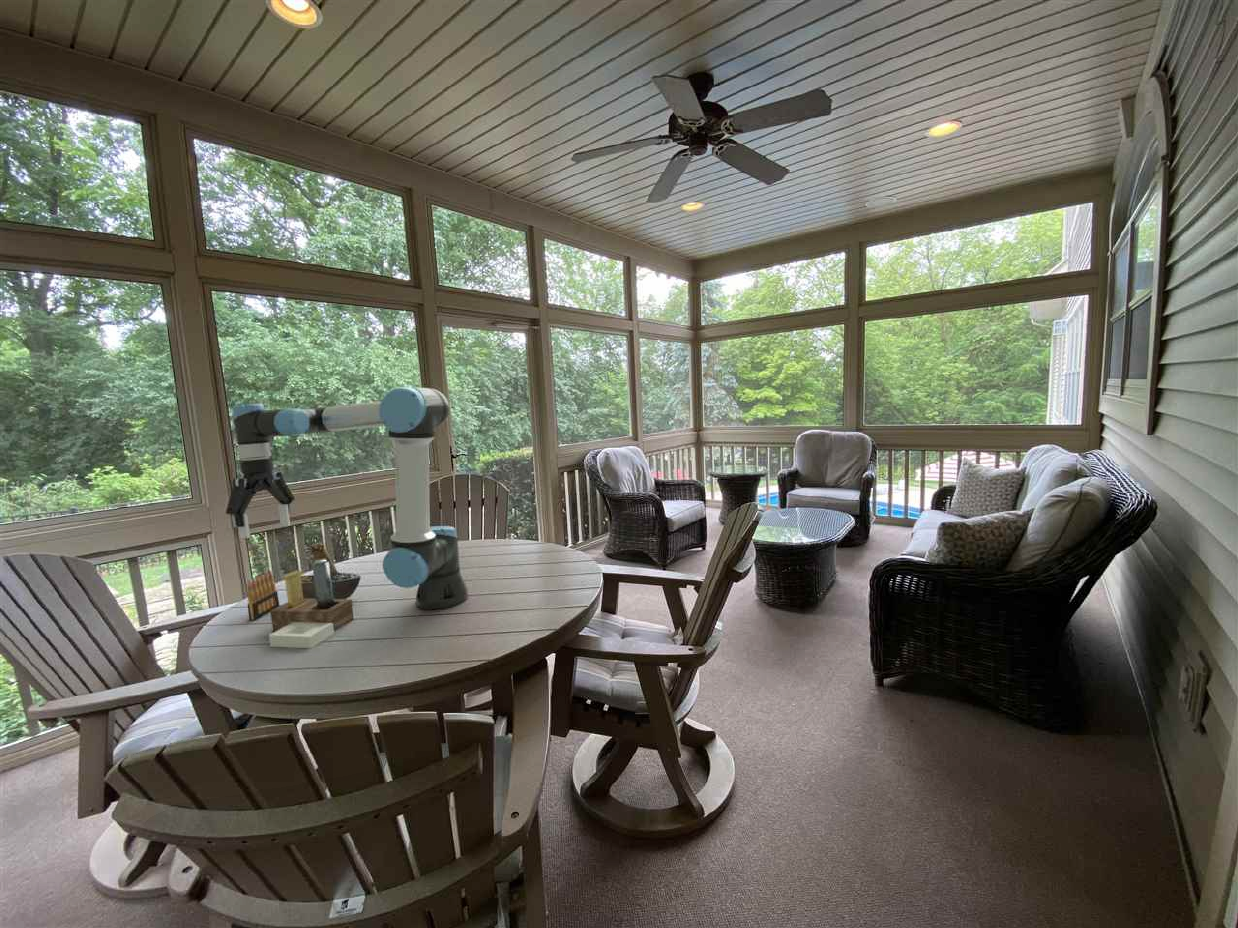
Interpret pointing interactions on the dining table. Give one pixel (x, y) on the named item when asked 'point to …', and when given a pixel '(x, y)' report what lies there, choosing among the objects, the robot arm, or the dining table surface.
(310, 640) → the block
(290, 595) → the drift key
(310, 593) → the planter
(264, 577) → the ammunition clip
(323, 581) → the grey metal cylinder
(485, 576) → the dining table surface
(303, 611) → the socket block
